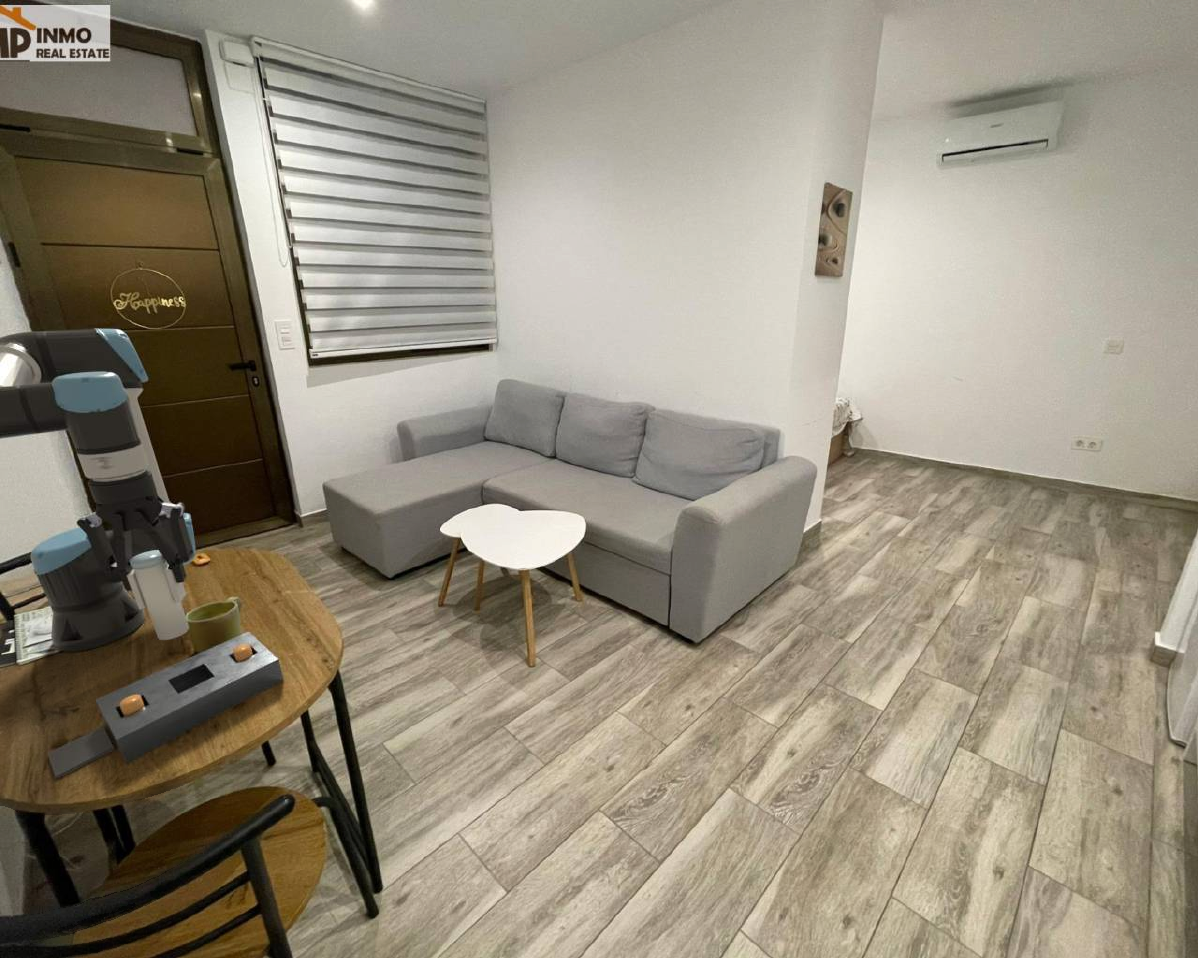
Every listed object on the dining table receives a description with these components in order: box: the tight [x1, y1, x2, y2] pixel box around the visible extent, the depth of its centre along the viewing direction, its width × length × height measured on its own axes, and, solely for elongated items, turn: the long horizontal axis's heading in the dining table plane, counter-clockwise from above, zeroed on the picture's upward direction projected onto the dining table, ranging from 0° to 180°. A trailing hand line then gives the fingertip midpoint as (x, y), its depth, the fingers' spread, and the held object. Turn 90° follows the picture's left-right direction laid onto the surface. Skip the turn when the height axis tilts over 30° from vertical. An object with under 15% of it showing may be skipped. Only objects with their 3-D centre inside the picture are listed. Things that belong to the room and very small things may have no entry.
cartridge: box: [130, 550, 189, 641], centre depth 89 cm, size 5×5×15 cm
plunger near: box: [119, 695, 145, 717], centre depth 90 cm, size 3×3×6 cm
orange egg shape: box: [233, 644, 253, 663], centre depth 103 cm, size 3×3×6 cm
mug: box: [185, 596, 244, 654], centre depth 113 cm, size 12×10×10 cm
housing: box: [95, 631, 284, 764], centre depth 97 cm, size 14×24×5 cm, turn 142°
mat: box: [47, 726, 116, 780], centre depth 86 cm, size 7×7×1 cm
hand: (163, 601), depth 90 cm, fingers closed on cartridge, 4 cm apart
